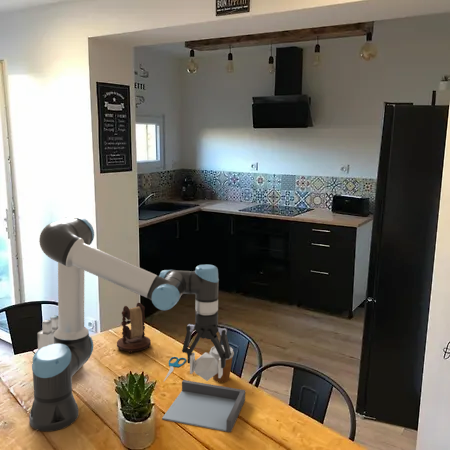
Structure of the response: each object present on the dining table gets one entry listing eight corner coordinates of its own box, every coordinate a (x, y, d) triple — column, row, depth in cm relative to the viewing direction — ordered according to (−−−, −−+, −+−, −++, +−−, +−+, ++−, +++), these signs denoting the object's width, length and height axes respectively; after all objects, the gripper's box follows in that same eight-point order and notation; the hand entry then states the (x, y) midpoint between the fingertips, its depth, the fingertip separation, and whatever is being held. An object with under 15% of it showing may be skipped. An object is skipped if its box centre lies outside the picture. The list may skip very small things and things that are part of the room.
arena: (230, 432, 146) (231, 420, 146) (162, 419, 153) (162, 408, 152) (245, 400, 165) (245, 390, 164) (183, 389, 171) (183, 379, 170)
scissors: (187, 358, 195) (172, 381, 176) (187, 360, 196) (172, 384, 176) (171, 356, 197) (155, 379, 177) (171, 358, 197) (155, 382, 178)
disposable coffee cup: (212, 386, 174) (212, 356, 172) (206, 374, 183) (207, 345, 181) (236, 383, 177) (237, 353, 175) (229, 371, 186) (230, 343, 184)
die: (201, 370, 163) (187, 354, 159) (223, 360, 162) (209, 343, 157) (203, 389, 156) (188, 372, 152) (225, 378, 155) (211, 362, 150)
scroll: (128, 357, 196) (127, 312, 192) (110, 346, 207) (109, 303, 203) (157, 348, 206) (156, 305, 202) (139, 337, 216) (138, 296, 213)
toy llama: (77, 375, 180) (75, 326, 177) (39, 368, 185) (36, 321, 182) (88, 366, 187) (86, 319, 184) (50, 360, 192) (48, 314, 189)
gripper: (241, 311, 154) (240, 373, 158) (179, 304, 160) (180, 364, 164) (236, 319, 147) (234, 384, 151) (171, 311, 153) (172, 374, 157)
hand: (206, 374), depth 157 cm, fingers closed on die, 9 cm apart
